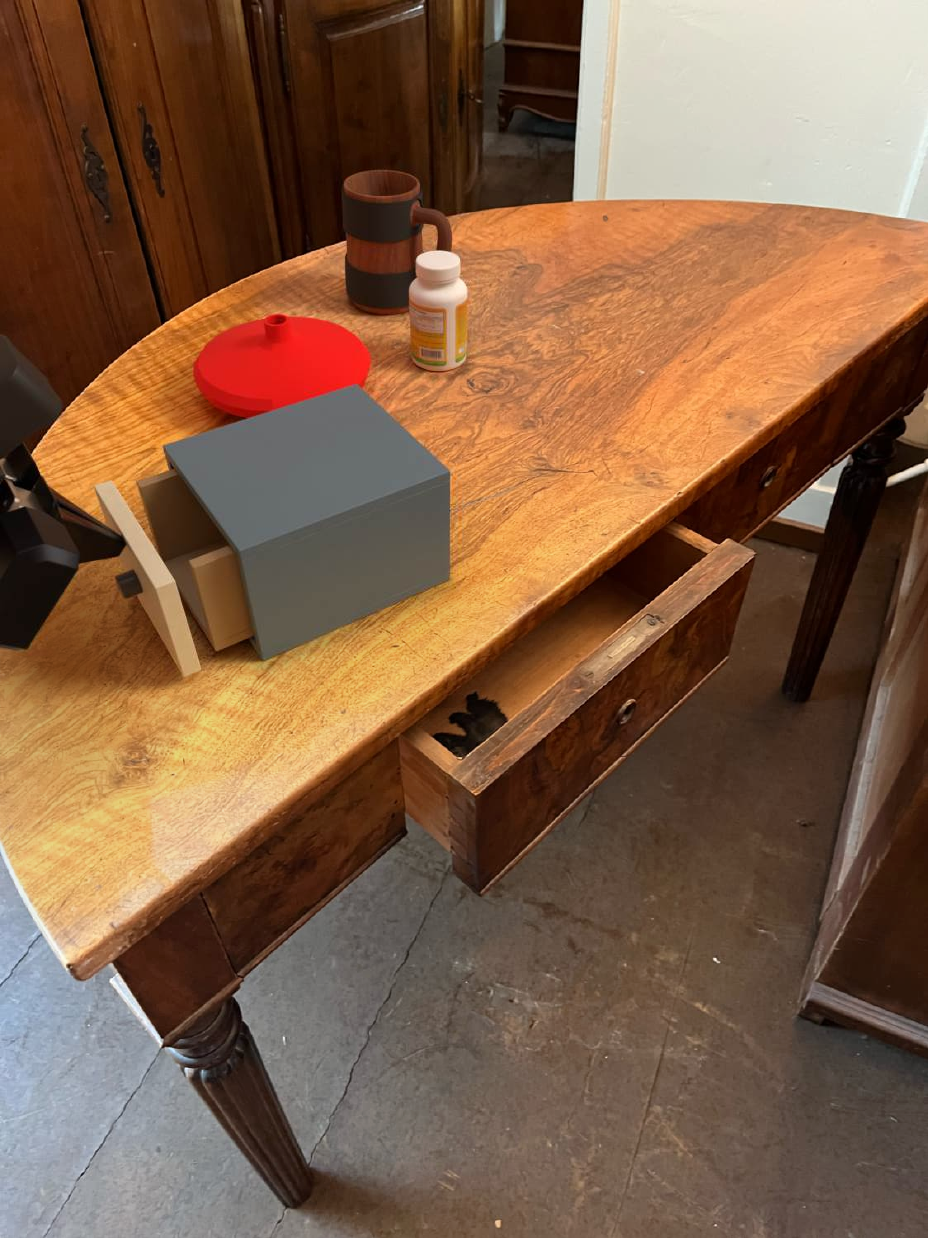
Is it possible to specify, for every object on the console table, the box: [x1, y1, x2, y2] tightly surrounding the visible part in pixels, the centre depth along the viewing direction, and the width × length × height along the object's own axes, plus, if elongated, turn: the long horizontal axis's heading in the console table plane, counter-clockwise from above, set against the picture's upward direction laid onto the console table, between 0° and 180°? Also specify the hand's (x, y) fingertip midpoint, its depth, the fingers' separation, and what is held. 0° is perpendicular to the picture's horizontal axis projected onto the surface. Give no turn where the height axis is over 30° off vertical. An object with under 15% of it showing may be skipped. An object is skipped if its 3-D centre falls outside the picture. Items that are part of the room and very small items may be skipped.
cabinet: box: [162, 384, 451, 662], centre depth 61 cm, size 15×13×10 cm
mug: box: [341, 169, 453, 315], centre depth 90 cm, size 9×12×12 cm
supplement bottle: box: [409, 250, 468, 372], centre depth 83 cm, size 5×5×10 cm
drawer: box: [93, 469, 254, 678], centre depth 59 cm, size 15×11×8 cm
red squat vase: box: [192, 313, 372, 419], centre depth 79 cm, size 16×16×7 cm
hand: (121, 547), depth 55 cm, fingers closed, pressing on drawer
